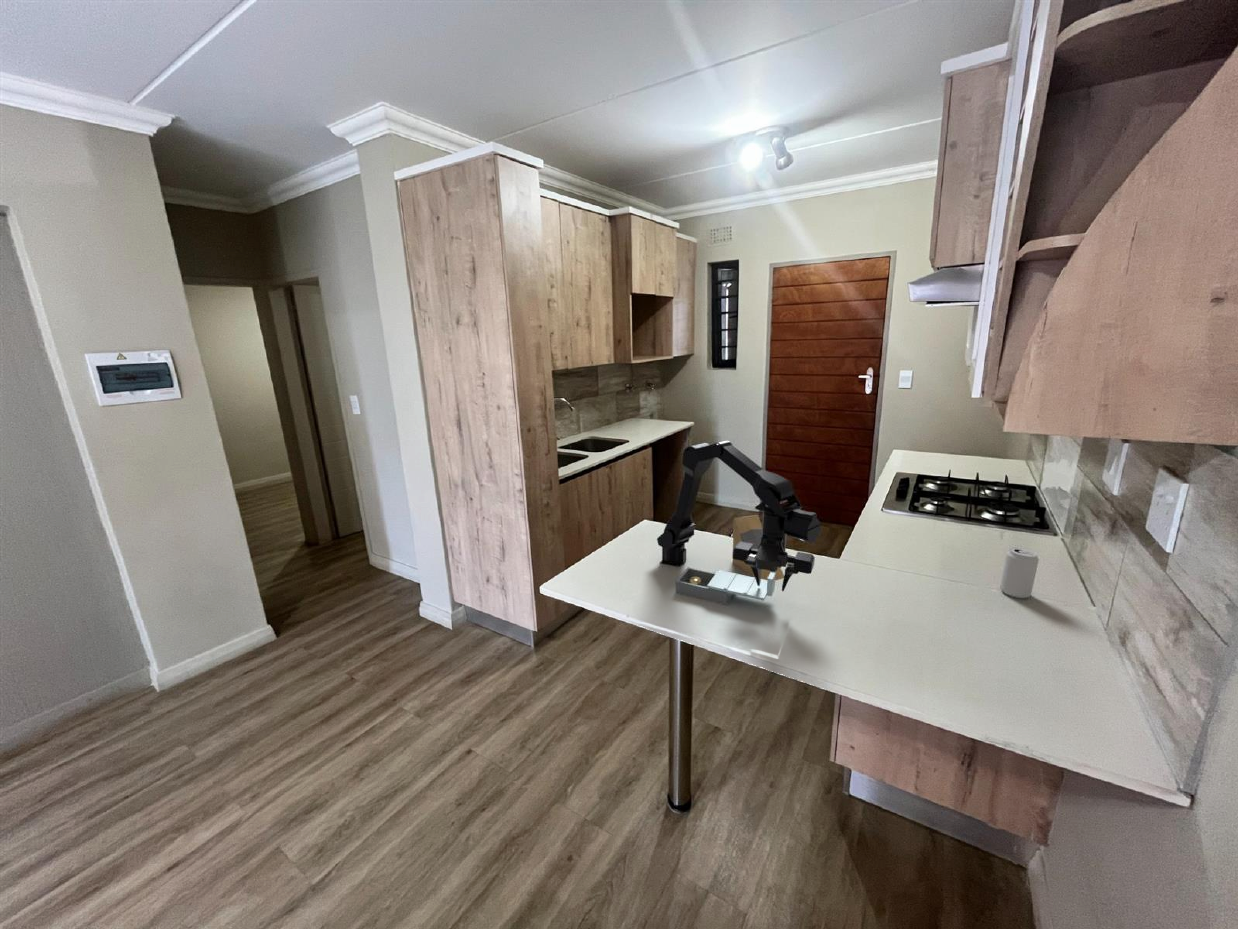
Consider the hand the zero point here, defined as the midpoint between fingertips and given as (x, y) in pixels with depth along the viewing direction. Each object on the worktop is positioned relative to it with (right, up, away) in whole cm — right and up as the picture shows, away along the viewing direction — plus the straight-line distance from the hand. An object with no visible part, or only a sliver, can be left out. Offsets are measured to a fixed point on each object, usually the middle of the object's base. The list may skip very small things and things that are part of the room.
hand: (770, 587), depth 121 cm
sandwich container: (+3, -1, +20) cm, 21 cm away
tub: (-15, -4, +9) cm, 18 cm away
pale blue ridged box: (-6, -1, +4) cm, 7 cm away
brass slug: (-17, -3, +10) cm, 20 cm away
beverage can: (+65, -3, +5) cm, 66 cm away
